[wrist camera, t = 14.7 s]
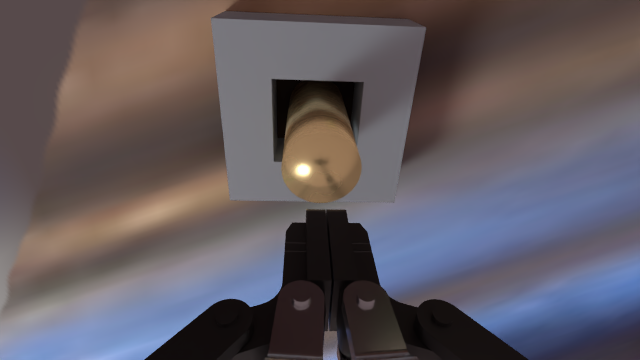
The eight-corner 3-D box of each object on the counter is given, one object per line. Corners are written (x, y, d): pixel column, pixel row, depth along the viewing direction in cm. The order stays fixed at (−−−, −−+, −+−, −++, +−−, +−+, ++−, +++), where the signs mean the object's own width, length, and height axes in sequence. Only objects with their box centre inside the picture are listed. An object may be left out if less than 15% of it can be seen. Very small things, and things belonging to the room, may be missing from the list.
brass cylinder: (345, 78, 25) (365, 133, 17) (340, 130, 27) (357, 203, 19) (289, 76, 25) (280, 131, 16) (289, 128, 27) (281, 202, 18)
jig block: (408, 18, 23) (426, 27, 20) (383, 175, 29) (394, 202, 26) (225, 11, 23) (210, 18, 19) (238, 172, 29) (230, 200, 25)
